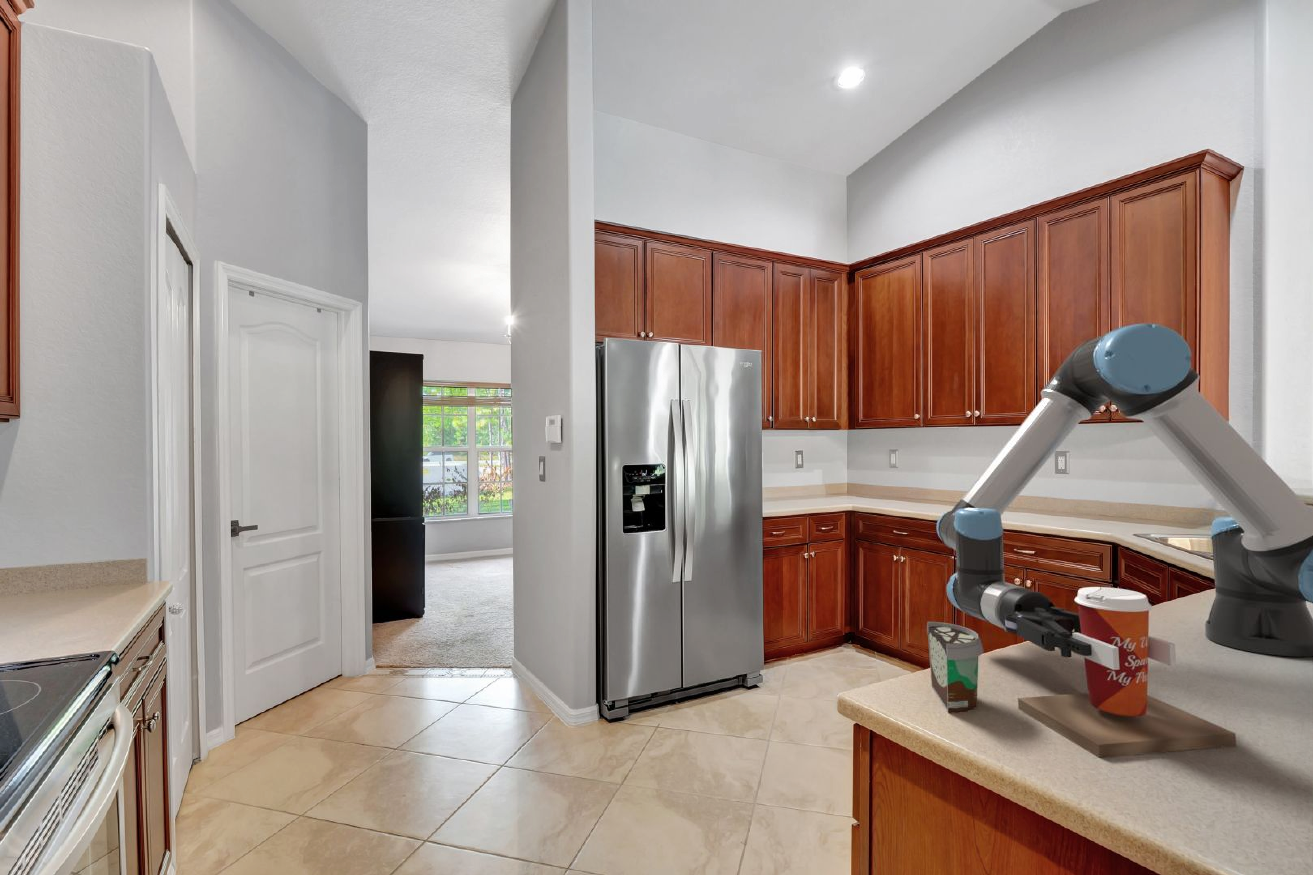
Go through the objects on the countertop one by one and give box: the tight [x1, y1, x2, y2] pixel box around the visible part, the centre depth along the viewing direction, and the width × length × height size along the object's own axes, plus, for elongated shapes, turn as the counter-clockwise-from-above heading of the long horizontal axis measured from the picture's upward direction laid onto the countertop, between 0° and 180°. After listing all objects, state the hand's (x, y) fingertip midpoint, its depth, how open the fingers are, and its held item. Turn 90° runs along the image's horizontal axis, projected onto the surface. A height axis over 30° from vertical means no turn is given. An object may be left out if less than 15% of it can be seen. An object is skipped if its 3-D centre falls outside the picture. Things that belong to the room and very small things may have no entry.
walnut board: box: [1017, 692, 1237, 758], centre depth 80 cm, size 18×14×2 cm
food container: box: [926, 621, 985, 714], centre depth 89 cm, size 12×6×10 cm, turn 168°
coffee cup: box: [1074, 586, 1153, 716], centre depth 80 cm, size 8×8×15 cm
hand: (1144, 656), depth 76 cm, fingers closed on coffee cup, 7 cm apart
